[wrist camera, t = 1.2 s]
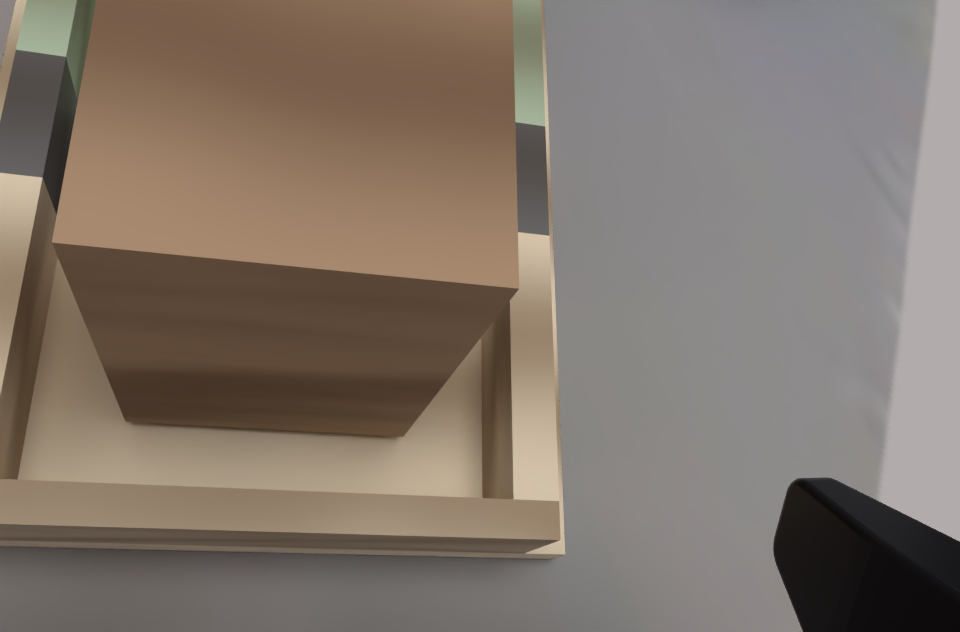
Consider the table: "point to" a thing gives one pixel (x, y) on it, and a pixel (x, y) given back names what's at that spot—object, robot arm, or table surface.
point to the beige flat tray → (247, 451)
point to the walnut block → (291, 205)
